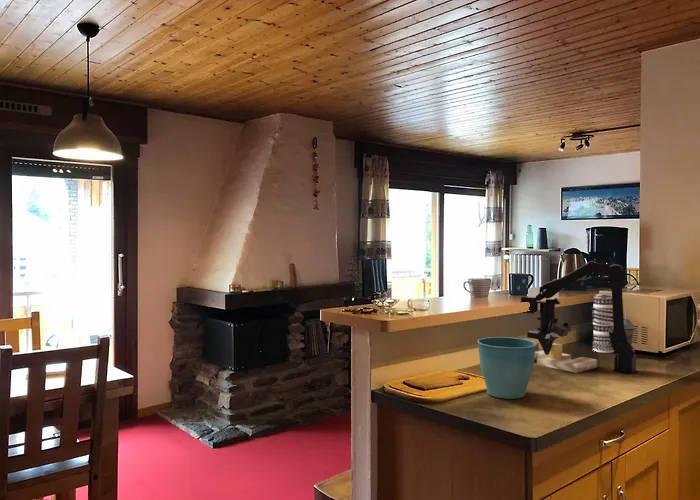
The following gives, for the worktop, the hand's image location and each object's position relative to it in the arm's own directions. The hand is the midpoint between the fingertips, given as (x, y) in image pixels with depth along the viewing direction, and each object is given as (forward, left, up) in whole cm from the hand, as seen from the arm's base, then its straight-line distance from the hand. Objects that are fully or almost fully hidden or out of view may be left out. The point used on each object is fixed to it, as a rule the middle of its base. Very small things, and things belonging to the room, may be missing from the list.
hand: (547, 354), depth 220 cm
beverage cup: (-10, -40, -4) cm, 41 cm away
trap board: (-1, -5, -4) cm, 6 cm away
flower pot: (-16, +45, -4) cm, 48 cm away
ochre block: (0, -4, -1) cm, 5 cm away
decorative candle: (+1, -43, -4) cm, 43 cm away
